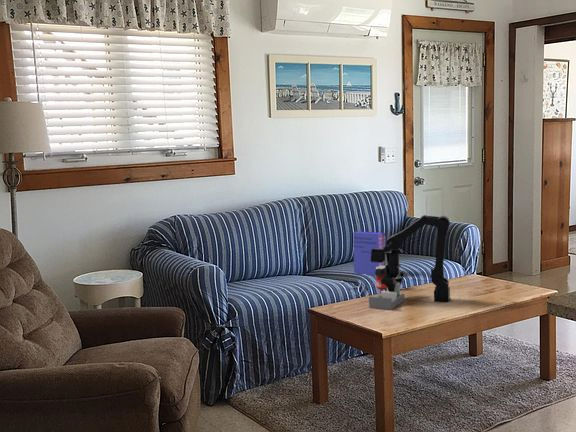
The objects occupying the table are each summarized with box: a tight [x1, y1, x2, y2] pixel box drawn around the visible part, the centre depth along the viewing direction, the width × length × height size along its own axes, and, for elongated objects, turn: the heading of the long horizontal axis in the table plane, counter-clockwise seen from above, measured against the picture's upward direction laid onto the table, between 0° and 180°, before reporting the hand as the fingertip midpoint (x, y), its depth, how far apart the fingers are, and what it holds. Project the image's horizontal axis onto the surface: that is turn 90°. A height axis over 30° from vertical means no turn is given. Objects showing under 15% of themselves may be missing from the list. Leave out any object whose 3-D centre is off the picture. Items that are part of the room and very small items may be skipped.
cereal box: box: [352, 230, 387, 277], centre depth 366 cm, size 17×5×24 cm, turn 58°
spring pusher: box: [380, 290, 397, 300], centre depth 305 cm, size 7×1×4 cm, turn 62°
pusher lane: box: [368, 293, 406, 311], centre depth 302 cm, size 10×19×5 cm, turn 152°
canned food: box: [375, 266, 387, 291], centre depth 333 cm, size 8×8×11 cm
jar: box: [386, 282, 401, 297], centre depth 310 cm, size 6×6×7 cm
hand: (393, 294), depth 310 cm, fingers closed on jar, 6 cm apart
